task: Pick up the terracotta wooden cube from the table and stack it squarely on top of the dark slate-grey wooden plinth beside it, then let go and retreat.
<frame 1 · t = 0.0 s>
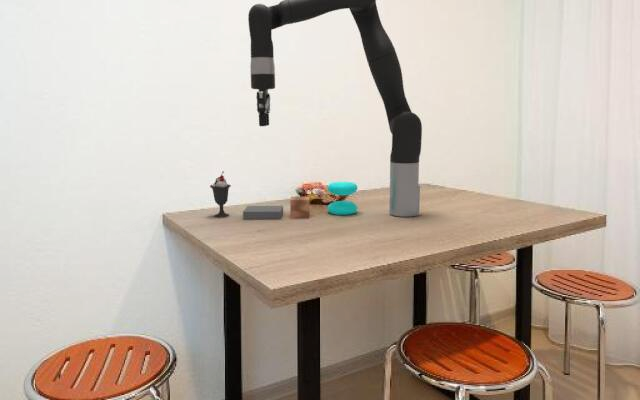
hand: (264, 125, 154), 29 cm above the table, fingers open, 8 cm apart
donuts: (342, 213, 163), on the table
base: (263, 217, 159), on the table
sundae: (222, 216, 160), on the table
cube: (300, 216, 159), on the table
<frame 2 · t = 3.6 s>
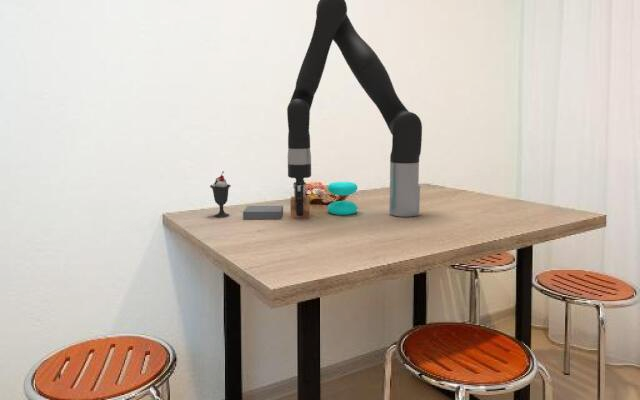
hand: (300, 213, 158), 1 cm above the table, fingers closed on cube, 6 cm apart
cube: (300, 216, 159), on the table, touching gripper
everything else where it was.
when the fingers open (5 cm above the table, at t = 8.8 s): cube drops 2 cm, resting on base.
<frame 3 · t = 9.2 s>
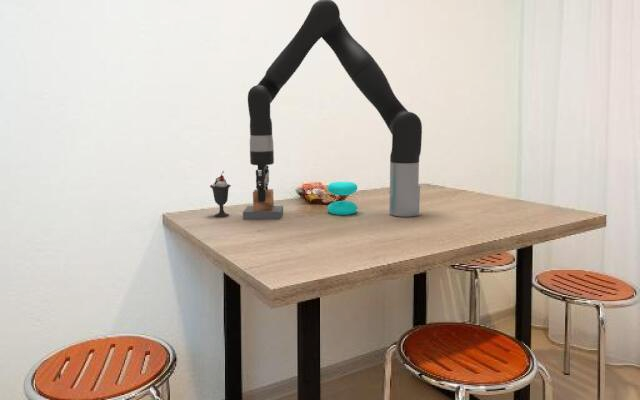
hand: (263, 199, 158), 6 cm above the table, fingers open, 8 cm apart
base: (263, 217, 159), on the table, touching cube
cube: (263, 208, 158), point 2 cm above the table, touching base
everything else where it was.
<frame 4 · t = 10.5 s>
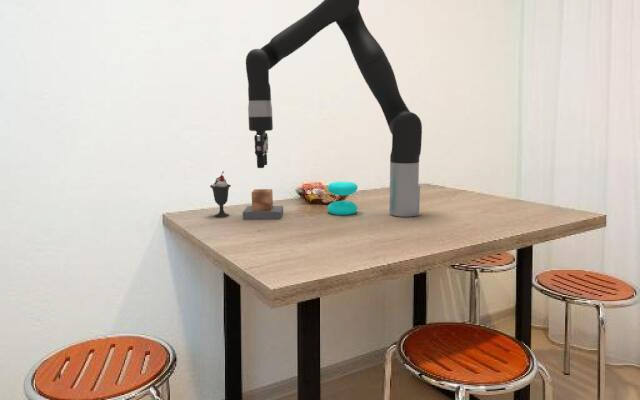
hand: (262, 166, 156), 16 cm above the table, fingers open, 8 cm apart
nothing on the table moved.
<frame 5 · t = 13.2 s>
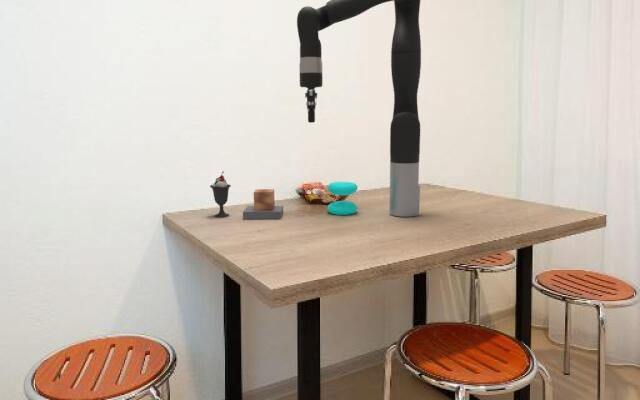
hand: (311, 122, 162), 30 cm above the table, fingers open, 8 cm apart
base: (263, 217, 159), on the table
cube: (264, 208, 158), point 2 cm above the table
everything else where it was.
at the end: cube 0.4 cm off-centre on the base, point 3.0 cm above the base's base; cube tilted 0°; the gripper is holding nothing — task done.
